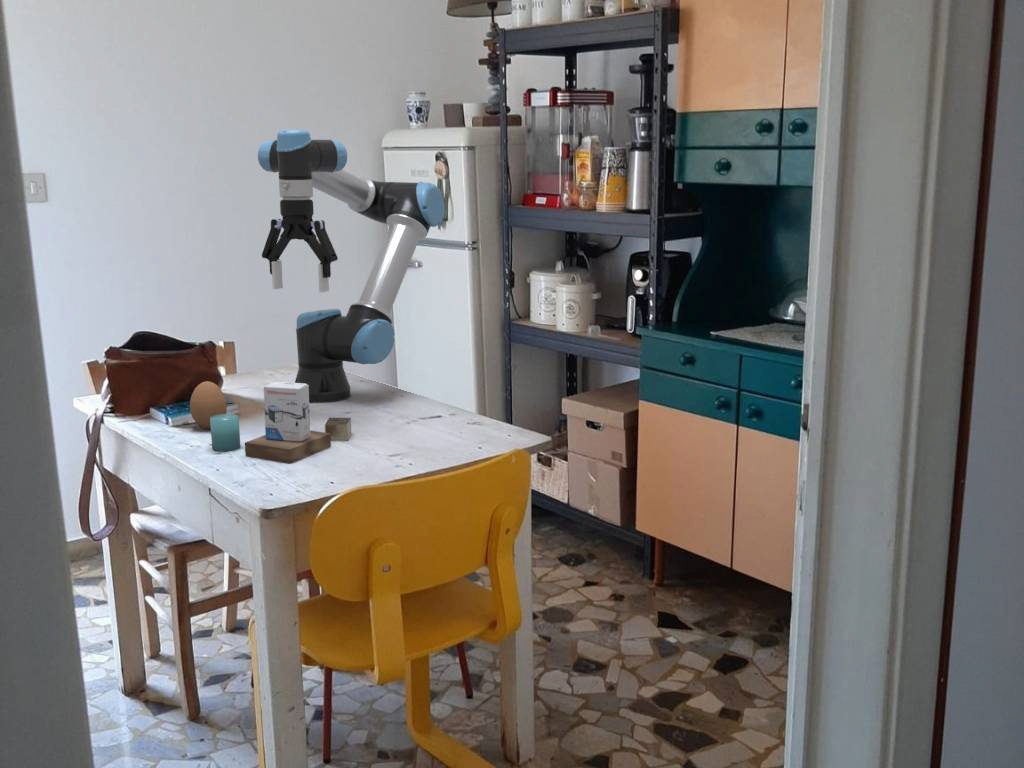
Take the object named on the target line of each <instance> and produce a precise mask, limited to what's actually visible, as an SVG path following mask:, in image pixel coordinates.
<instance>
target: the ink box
mask: <svg viewBox="0 0 1024 768" xmlns="http://www.w3.org/2000/svg"><path fill="white" fill-rule="evenodd" d="M263 397H264V399H263V403H264V426H265V427H264V428H265V429H264V430H265V431H264V432H265V435H266V439H273V440H286V441H303V440H305V439H307V438H308V437H310V430H311V424H310V423H311V421H310V420H311V419H310V418H311V416H310V415H311V414H310V402H309V385H307V384H304V383H295V382H287V381H274V382H273V381H272V382H271V383H268V384H266V385H264V386H263Z"/></svg>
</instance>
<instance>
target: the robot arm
mask: <svg viewBox="0 0 1024 768" xmlns="http://www.w3.org/2000/svg"><path fill="white" fill-rule="evenodd" d="M257 161H258V164H259V165H260V167H261V168H262V169H263V170H264V171H266V172H268V173H269V172H270V173H271V172H272V173H278V182H279V183H278V188H279V197H280V198H282V199H280V201H279V208H280V209H279V210H280V215H281V217H282V219H281V218H274V219H271V220H270V229H269V232H268V235H267V239H266V241H265V244H264V248H263V250H262V253H261V258H262V259H266V260H268V262H269V273H270V275H272V278H271V279H272V289H273V290H278V289H283V288H284V286H283V284H284V283H283V267H282V266H283V265H282V260H281V259H280V257H281V256H282V254H283V252H284V251H285V249H286V248H287V246H288V245H289V243H290V242H291V241H292V240H299V241H301V240H303V241H304V242H305V243H306V244H308V246H309V247H310V249H311V250H312V252H313V253H314V255H315V256H316V258H317V259H318V260H319V263H318V264H317V265H318V266H317V269H318V292H319V293H326V292H330V286H329V285H330V284H329V278H331V276H332V275H331V274H332V272H331V269H332V268H331V263H333V262H336V261H338V259H339V258H338V254H337V253H336V251H335V248H334V246H333V243H332V242H331V240H330V236H329V235H328V233H327V230H326V226H325V225H326V222H325V220H323V219H321V220H320V219H319V220H313V215H314V214H315V213H314V200H313V199H311V198H312V197H313V196H314V190H313V189H316V190H317V191H320V192H321V193H324V194H326V195H328V196H330V197H333V198H335V199H337V200H338V201H340V202H343V203H345V204H347V206H348V208H349V209H350V210H352V211H354V212H355V213H357V214H360V215H361V216H363V217H366V218H368V219H371V220H373V221H375V222H378V223H381V224H384V225H387V226H388V229H387V232H386V234H385V237H384V240H383V242H382V245H381V246H380V249H379V251H378V254H377V256H376V258H375V260H374V263H373V266H372V269H371V270H370V273H369V275H368V278H367V280H366V283H365V284H364V285H365V286H364V287H363V290H362V292H361V295H360V298H359V300H358V301H357V302H355V303H352V304H350V306H349V309H348V310H347V313H346V316H344V315H342V312H341V309H339V308H331V309H329V308H328V309H321V310H320V309H319V310H314V311H308V312H307V311H306V312H303V313H301V314H298V316H297V317H296V328H295V332H296V345H297V347H296V348H297V360H298V364H297V365H298V370H297V373H296V377H295V381H294V383H304V384H307V385H309V403H327V402H329V403H330V402H336V401H341V400H342V401H343V400H345V399H347V398H350V396H351V385H350V384H349V381H348V377H347V374H346V371H345V370H344V369H345V368H344V362H348V363H355V364H360V365H377V364H379V363H382V362H383V361H384V360H386V359H387V358H388V356H389V355H390V354H391V353H392V349H393V347H394V344H395V338H394V337H395V329H394V327H393V325H392V324H393V320H392V318H391V316H390V314H391V311H392V308H393V306H394V304H395V301H396V299H397V296H398V293H399V291H400V288H401V286H402V283H403V281H404V278H405V276H406V273H407V271H408V268H409V266H410V263H411V260H412V258H413V255H414V254H415V250H416V249H417V246H418V243H419V241H420V240H424V239H425V238H427V236H428V234H429V231H430V228H431V227H432V228H433V227H434V228H435V227H437V226H440V225H441V223H442V222H443V220H444V218H445V211H446V209H445V208H446V207H445V201H444V197H443V194H442V192H441V190H440V188H439V187H438V186H437V185H435V184H434V183H432V182H423V181H419V182H408V181H407V182H405V181H404V182H402V181H401V182H400V181H376V180H371V179H370V178H368V177H365V176H363V177H357V176H355V175H354V174H352V173H350V172H348V171H346V170H344V168H345V166H346V165H347V162H348V151H347V148H346V147H345V145H344V144H343V143H342V142H340V141H339V140H333V139H312V138H311V133H310V131H309V130H306V129H305V130H304V129H282V130H279V131H278V132H277V135H276V139H274V140H266V141H264V142H262V143H261V144H260V145H259V148H258V152H257ZM282 229H283V231H282ZM313 230H314V231H313Z"/></svg>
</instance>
